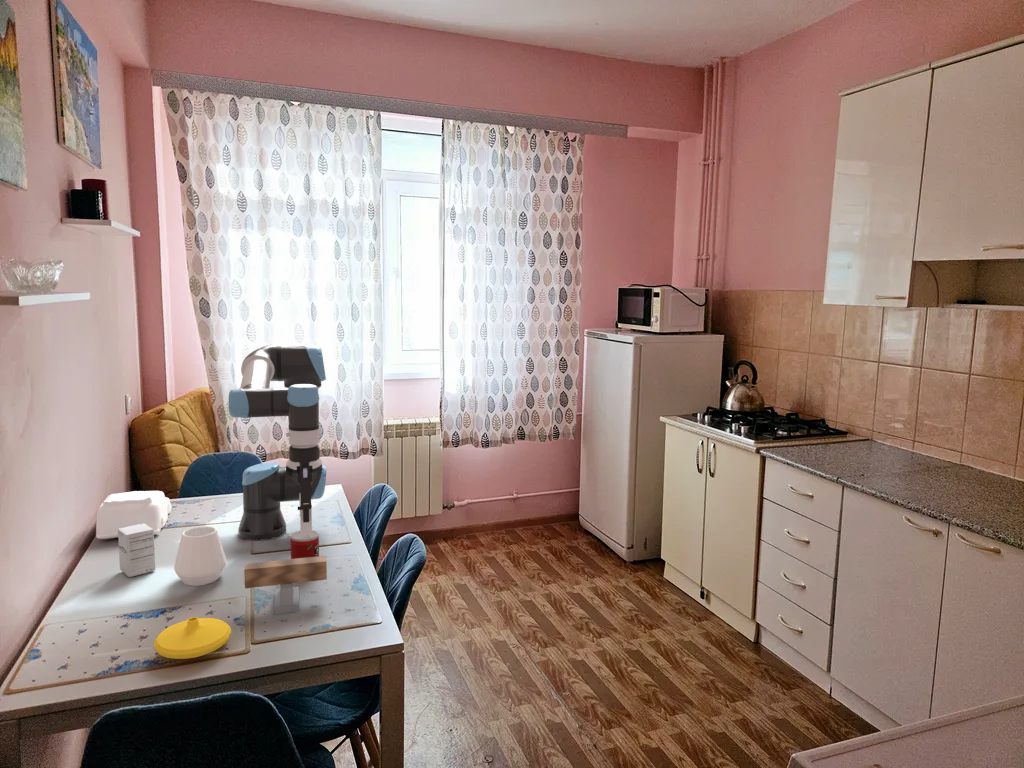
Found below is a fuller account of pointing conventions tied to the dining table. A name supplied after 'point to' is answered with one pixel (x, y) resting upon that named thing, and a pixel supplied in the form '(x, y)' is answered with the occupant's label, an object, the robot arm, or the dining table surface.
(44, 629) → the dining table surface
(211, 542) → the white planter pot
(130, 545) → the supplement box
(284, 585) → the ridge
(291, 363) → the robot arm
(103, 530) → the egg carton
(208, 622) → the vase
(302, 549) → the canned food
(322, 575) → the slat
